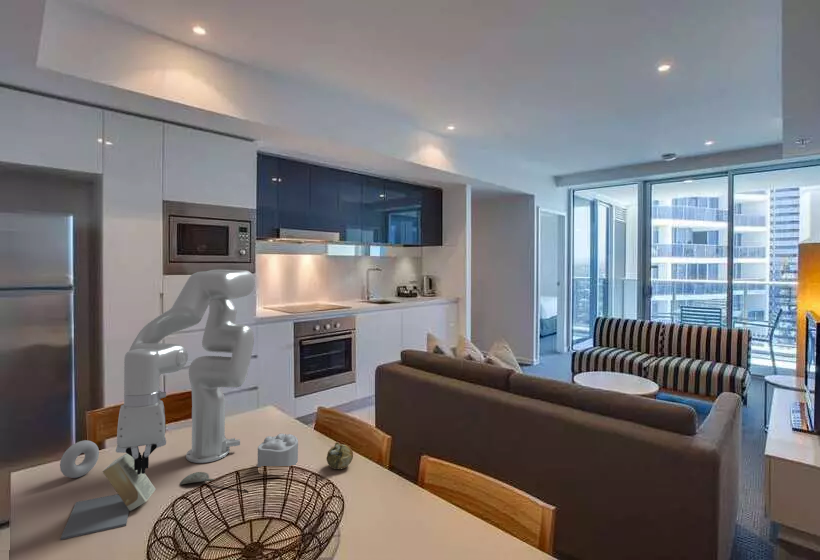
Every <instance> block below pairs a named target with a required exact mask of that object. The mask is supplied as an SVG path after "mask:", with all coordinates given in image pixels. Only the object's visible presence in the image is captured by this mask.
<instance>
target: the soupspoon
mask: <svg viewBox="0 0 820 560" xmlns="http://www.w3.org/2000/svg"><path fill="white" fill-rule="evenodd" d="M214 479H215V478H210V475H209V473H208V472H204V471H196V472H193V473H190V474H188V475H187V476H185V477H184V478H183V479H182V480H181V481H180V482H179V485H186V484H191V483H192V484H193V483H198V482H213V481H212V480H214Z"/></svg>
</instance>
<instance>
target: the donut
mask: <svg viewBox="0 0 820 560" xmlns="http://www.w3.org/2000/svg"><path fill="white" fill-rule="evenodd" d="M81 454H84V459H83V460H82V461H81V462H80V463H79V464H76V461H77V458H78V457H79V456H80V455H81ZM99 456H100V450H99V447H98V445H97V443H95V442H93V441H91V440H86V439H84V440H80V441H76V442H75V443H73V444H72V445H70V447H68V448H67V449H66V451H64V453H63V455H62V456H61V458H60V461H59V462H60V463H59V468H60V472H61V473H62V475H63V476H65V477H66V478H71V479H77V478H80V477H83V476H85V475H86V474H88V473H90V472H91V470H92V469H94V467H95V466H96V464H97V462H98V460H99Z"/></svg>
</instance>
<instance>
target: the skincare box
mask: <svg viewBox="0 0 820 560" xmlns="http://www.w3.org/2000/svg"><path fill="white" fill-rule="evenodd" d="M141 470H142V468H141ZM102 473H103V474H104V476H105V477H106V479H107V480H108V481H109V483H110V485H111V486H112V487H113V489H114V490H115V491H116V493H117V494H118V495H119V496H120V497H121V499H122V500H123V502H124V503H125V505H126V506H127V508H128V509H129V512H131V511H133V510H135V509H136V508H138V507H140V506H142V505H144V503H146V502H148V500H149V499H150V497H151V496H152V495H153V494H154V492H155V491H156V487H155V486H154V484H153V483H152V482H151V480H150V478H149V477H148V476H147V474H146V473H145V474H142V473H141V474H139V475H137V470H134V459H133V457H132V456H130V455H129V454H127V453H125V454H122V455H121V456H120V457H118V458H116V459H115V460H113V461H112V462H111V463H110V464H109V465H107V467H105V469H103V470H102Z"/></svg>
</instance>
